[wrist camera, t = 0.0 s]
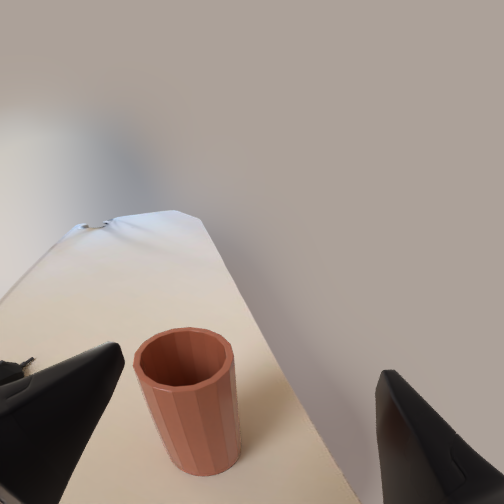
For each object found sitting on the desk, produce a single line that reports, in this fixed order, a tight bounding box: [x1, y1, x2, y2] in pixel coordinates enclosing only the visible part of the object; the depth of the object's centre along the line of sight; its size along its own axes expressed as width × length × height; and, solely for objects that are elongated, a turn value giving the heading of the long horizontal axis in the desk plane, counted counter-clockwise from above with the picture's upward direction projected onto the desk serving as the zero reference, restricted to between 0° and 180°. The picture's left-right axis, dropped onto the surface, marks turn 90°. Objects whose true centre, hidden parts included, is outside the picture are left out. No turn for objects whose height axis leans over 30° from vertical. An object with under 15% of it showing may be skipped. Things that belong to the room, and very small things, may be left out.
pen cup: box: [133, 327, 241, 476], centre depth 21 cm, size 7×7×12 cm
